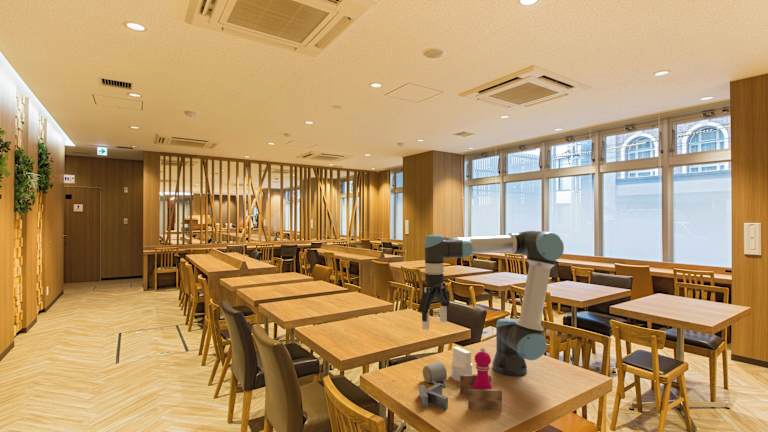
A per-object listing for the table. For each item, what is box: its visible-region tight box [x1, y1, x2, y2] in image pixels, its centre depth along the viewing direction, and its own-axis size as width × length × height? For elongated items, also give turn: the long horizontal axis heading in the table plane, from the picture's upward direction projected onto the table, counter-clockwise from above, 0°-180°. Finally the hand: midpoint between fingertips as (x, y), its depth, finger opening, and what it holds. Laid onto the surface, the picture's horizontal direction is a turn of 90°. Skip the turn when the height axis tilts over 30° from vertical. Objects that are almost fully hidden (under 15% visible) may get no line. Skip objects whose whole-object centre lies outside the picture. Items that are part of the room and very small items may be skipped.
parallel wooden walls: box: [459, 373, 503, 411], centre depth 151 cm, size 12×15×7 cm
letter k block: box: [418, 382, 449, 411], centre depth 151 cm, size 9×14×4 cm, turn 2°
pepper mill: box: [473, 347, 493, 389], centre depth 151 cm, size 7×7×20 cm
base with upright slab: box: [450, 346, 473, 382], centre depth 173 cm, size 9×9×12 cm
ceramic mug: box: [422, 361, 448, 388], centre depth 167 cm, size 11×8×8 cm
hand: (434, 325), depth 161 cm, fingers open, 13 cm apart
